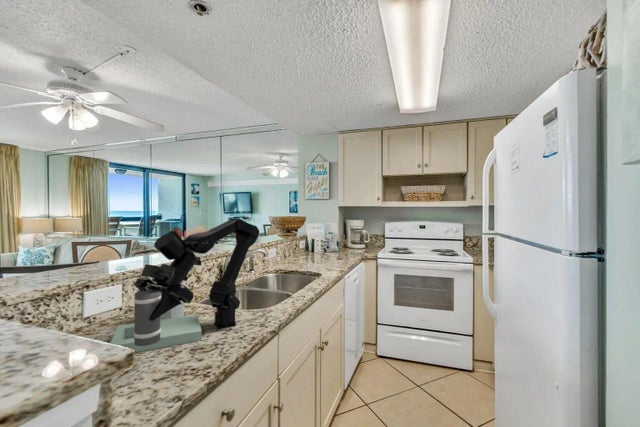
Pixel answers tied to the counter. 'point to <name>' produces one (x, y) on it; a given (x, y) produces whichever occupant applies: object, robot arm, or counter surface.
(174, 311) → the skincare box
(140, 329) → the white-banded grey cylinder
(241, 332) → the counter surface
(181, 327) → the pale green recessed tray
